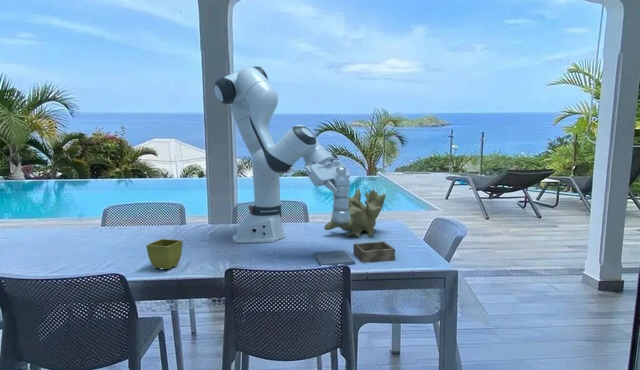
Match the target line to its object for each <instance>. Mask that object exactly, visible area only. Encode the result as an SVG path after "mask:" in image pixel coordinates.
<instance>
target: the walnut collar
mask: <svg viewBox="0 0 640 370" xmlns="http://www.w3.org/2000/svg"><path fill="white" fill-rule="evenodd" d="M353 255H354V256H355V257H356V258H357V259H358V260H359V261H360V262H361V263H362V262H363V263H362V264H366V262H369V263H376V262H377V263H378V261H380V262H389V261H390V262H391V261H396V249H395V248H394V247H392V245H390V244H388V243H387V242H385V241H373V242H371V241H370V242H360V243H353Z"/></svg>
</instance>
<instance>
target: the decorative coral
mask: <svg viewBox="0 0 640 370" xmlns="http://www.w3.org/2000/svg"><path fill="white" fill-rule="evenodd" d="M364 196H365V198H366V200H364V203H363V202H361V199H362V193H361V190H360V188H357V189H356V190H355V193H354V195H353V196H352V197H351V196H349V197H348V198H349V211H350V216H351V217H350V221H349V222H348V223H344V224H339V223H334V221H333V219H332V217H331V219H330V221H329V222H327V223H326V224H325V225H324V231H331V230H333V229H334V230H335V229H337V228H340V229H342V230H343V231H349V232H347V233H346V237H347V238H349V237H351V236H355V237H357V238H359V237H361V233H362V232H364V231H365V232H367V233H368V236H369V238H371V237H373V235H374V234H373V233H374V232H375V231H376V228H375V227H376V223H377V221H376V220H377V218H378V217H379V215H380V213H381V211H382V209H383V206H384V202H385V200H386V193H384V194H380V195H379V194H378V192H377V191H376V190H374V189H371V190H370V191H369V192H365V193H364ZM350 231H351V232H350Z"/></svg>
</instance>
